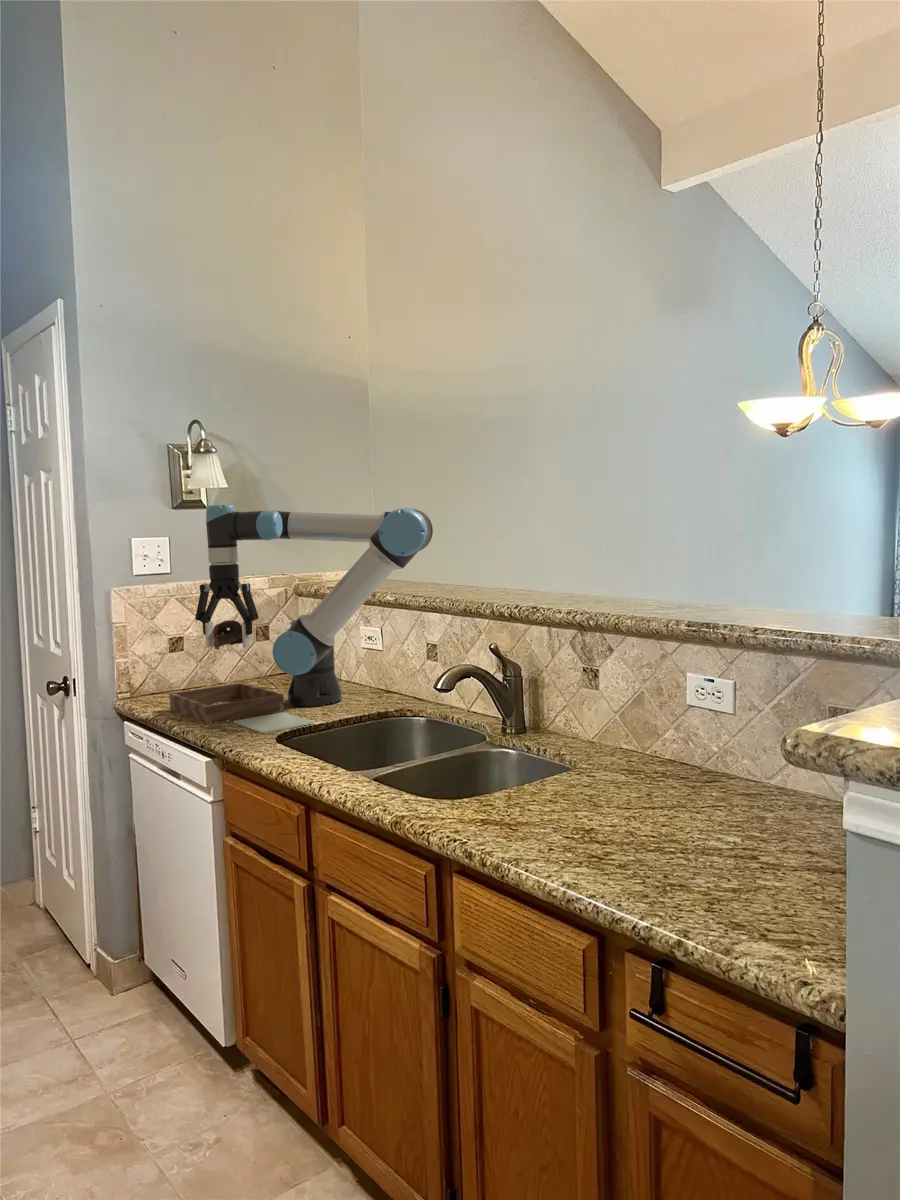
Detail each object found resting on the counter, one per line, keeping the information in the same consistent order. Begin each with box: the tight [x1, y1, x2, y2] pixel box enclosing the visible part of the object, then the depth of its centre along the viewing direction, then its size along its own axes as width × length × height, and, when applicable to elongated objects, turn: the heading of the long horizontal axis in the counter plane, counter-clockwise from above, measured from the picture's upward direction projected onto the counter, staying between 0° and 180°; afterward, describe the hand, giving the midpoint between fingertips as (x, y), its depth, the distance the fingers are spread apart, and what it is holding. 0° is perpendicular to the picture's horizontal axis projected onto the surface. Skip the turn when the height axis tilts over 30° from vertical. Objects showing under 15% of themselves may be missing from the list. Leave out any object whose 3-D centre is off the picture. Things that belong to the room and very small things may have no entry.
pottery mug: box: [213, 619, 243, 651], centre depth 240 cm, size 12×10×8 cm
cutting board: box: [233, 711, 315, 734], centre depth 226 cm, size 16×14×1 cm
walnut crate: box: [169, 682, 285, 725], centre depth 242 cm, size 24×22×4 cm
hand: (228, 646), depth 239 cm, fingers closed on pottery mug, 10 cm apart
